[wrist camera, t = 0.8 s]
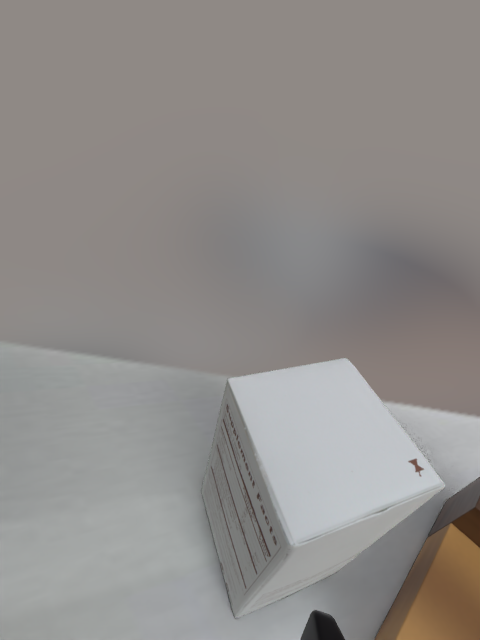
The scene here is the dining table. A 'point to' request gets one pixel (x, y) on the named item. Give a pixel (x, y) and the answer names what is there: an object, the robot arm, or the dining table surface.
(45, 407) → the dining table surface
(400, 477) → the white packaging box
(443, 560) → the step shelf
